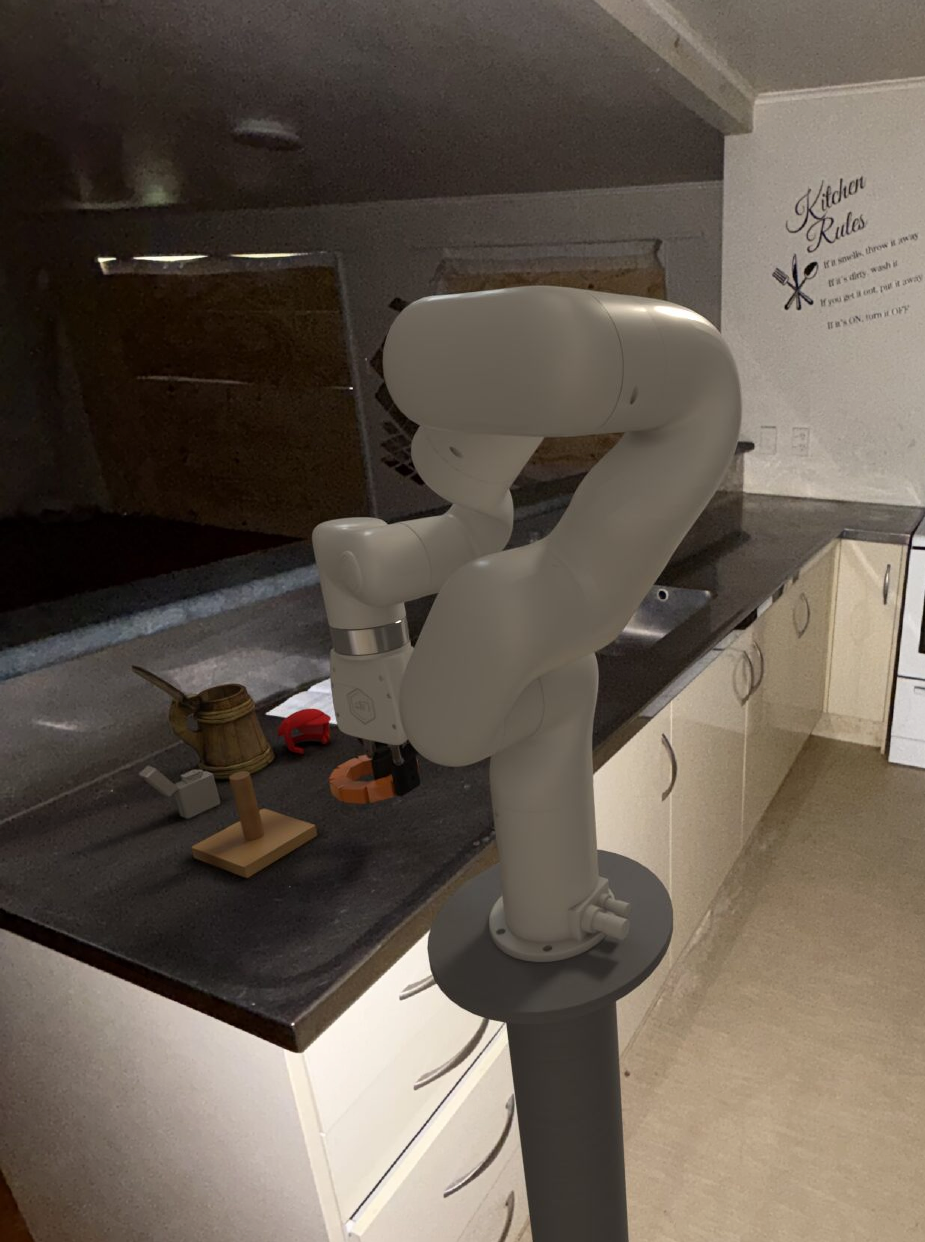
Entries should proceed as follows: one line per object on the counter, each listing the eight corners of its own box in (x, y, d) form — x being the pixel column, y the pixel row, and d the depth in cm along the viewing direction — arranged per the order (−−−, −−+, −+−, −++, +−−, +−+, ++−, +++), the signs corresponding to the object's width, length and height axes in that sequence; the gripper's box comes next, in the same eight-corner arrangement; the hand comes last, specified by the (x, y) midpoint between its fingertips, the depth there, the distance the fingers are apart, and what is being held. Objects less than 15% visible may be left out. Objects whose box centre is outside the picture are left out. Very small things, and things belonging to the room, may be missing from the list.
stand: (317, 835, 90) (302, 765, 86) (246, 878, 82) (227, 803, 79) (266, 818, 93) (249, 750, 90) (193, 858, 86) (172, 785, 82)
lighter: (213, 799, 97) (198, 744, 94) (221, 803, 96) (206, 747, 94) (153, 827, 91) (136, 769, 88) (161, 831, 90) (144, 772, 88)
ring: (436, 771, 90) (434, 758, 89) (373, 810, 82) (370, 796, 81) (379, 758, 93) (376, 745, 93) (313, 794, 85) (310, 780, 84)
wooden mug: (151, 783, 101) (113, 658, 95) (253, 744, 112) (226, 630, 105) (183, 802, 97) (146, 672, 90) (287, 759, 107) (260, 641, 101)
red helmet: (271, 757, 108) (262, 719, 106) (291, 738, 113) (284, 702, 111) (327, 757, 108) (320, 719, 106) (345, 738, 114) (338, 702, 112)
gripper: (287, 638, 80) (321, 790, 86) (400, 656, 73) (428, 818, 80) (346, 618, 86) (373, 761, 92) (454, 634, 80) (476, 786, 86)
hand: (398, 787), depth 86 cm, fingers closed on ring, 2 cm apart
